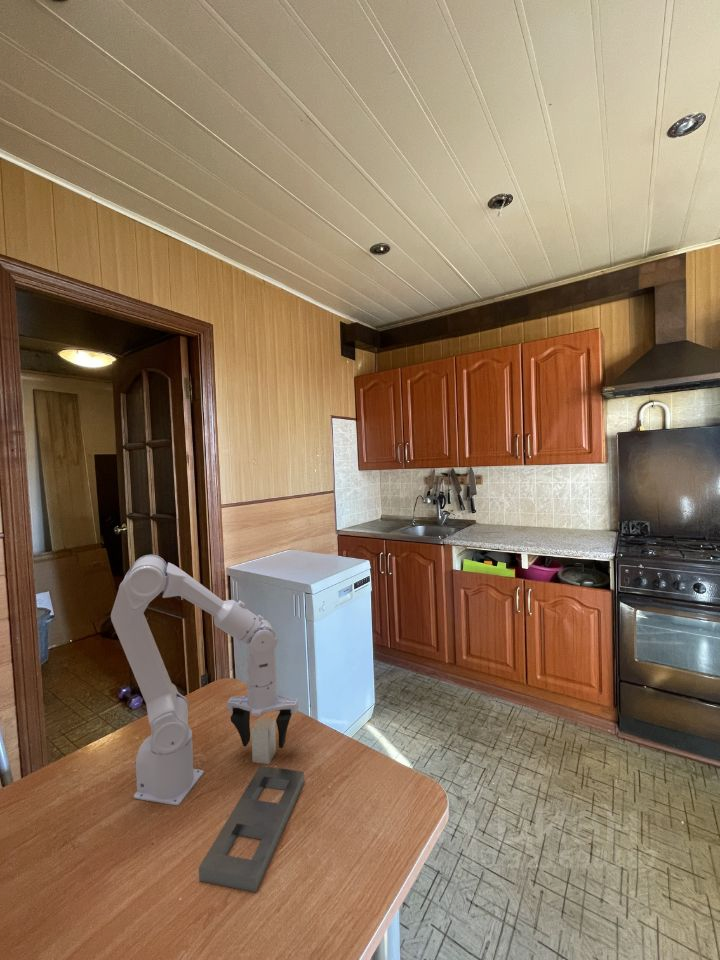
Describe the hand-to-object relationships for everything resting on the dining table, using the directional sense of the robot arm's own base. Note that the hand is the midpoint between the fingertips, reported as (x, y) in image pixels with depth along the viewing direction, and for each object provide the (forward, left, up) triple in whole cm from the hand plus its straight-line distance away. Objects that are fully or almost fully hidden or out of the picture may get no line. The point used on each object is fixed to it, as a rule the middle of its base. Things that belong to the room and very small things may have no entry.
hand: (264, 743), depth 82 cm
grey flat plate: (+6, -15, -3) cm, 16 cm away
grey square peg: (0, 0, -3) cm, 3 cm away
